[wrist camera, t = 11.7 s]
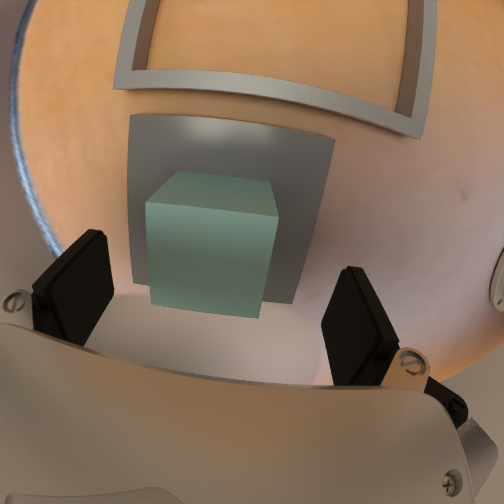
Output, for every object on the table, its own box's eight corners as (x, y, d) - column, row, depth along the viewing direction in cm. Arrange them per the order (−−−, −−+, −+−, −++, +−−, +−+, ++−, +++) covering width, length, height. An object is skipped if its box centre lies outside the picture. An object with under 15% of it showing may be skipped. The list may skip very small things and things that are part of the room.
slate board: (327, 136, 14) (335, 139, 13) (289, 290, 20) (291, 303, 18) (140, 113, 14) (130, 114, 12) (140, 271, 19) (133, 283, 18)
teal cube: (270, 181, 14) (278, 217, 10) (256, 261, 17) (258, 318, 12) (177, 171, 14) (145, 202, 10) (175, 251, 16) (151, 304, 12)
